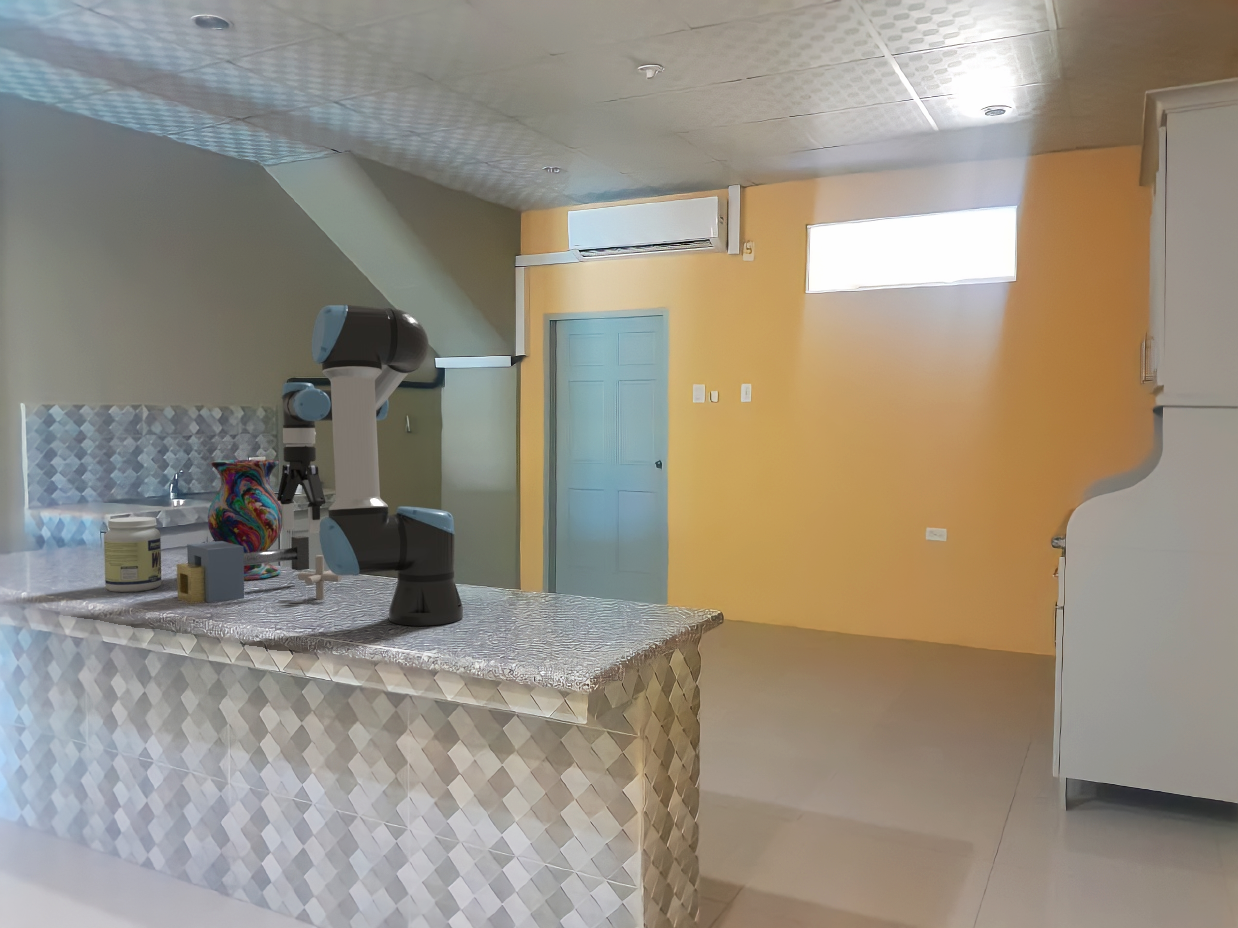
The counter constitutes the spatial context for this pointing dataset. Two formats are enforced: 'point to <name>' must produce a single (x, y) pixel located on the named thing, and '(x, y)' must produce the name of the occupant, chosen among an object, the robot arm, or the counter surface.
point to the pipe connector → (319, 577)
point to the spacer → (191, 583)
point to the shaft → (283, 554)
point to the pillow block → (220, 569)
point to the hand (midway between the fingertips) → (301, 531)
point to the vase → (246, 510)
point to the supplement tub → (132, 554)
